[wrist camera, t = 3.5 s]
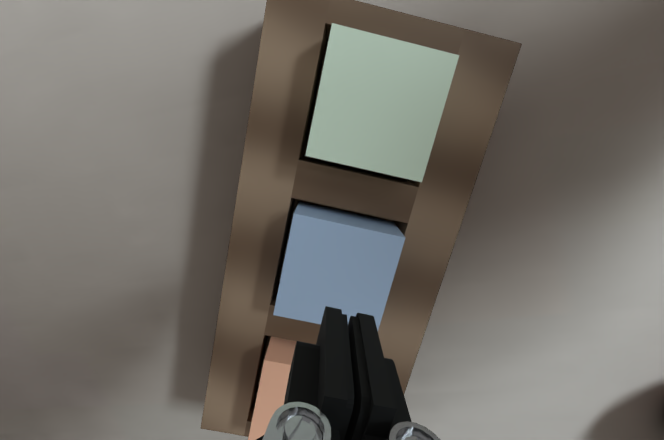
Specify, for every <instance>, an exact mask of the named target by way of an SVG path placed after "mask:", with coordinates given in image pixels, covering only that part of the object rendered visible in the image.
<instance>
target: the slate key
mask: <svg viewBox="0 0 664 440" xmlns="http://www.w3.org/2000/svg"><path fill="white" fill-rule="evenodd" d="M404 241H405V236H404V235H403V234H402V232H401V231H400V230H399V228H398V227H397V226H396V224H395V223H394V222H391V221H387V220H382V219H377V218H373V217H368V216H364V215H359V214H355V213H350V212H346V211H341V210H337V209H332V208H327V207H323V206H318V205H314V204H309V203H305V202H300V201H299V203H298V205H297V208H296V210H295V212H294V214H293V219H292V224H291V229H290V234H289V239H288V244H287V249H286V254H285V259H284V264H283V269H282V274H281V279H280V284H279V289H278V293H277V298H276V303H275V308H274V313H273V315H276V316H281V317H286V318H291V319H296V320H301V321H306V322H311V323H316V324H321V322H322V318H323V314H324V310H325V307H326V306H327V307H332V308H337V309H341V310H342V314H346V315H347V322H348V323H349V319H350V317H351V316H356V314H357V313H362V314H367V315H372V316H374V319H375V323H376V327H377V331H378V329H379V326H380V322H381V319H382V316H383V312H384V309H385V305H386V302H387V299H388V295H389V292H390V289H391V285H392V282H393V278H394V275H395V272H396V268H397V265H398V261H399V258H400V255H401V251H402V248H403V245H404Z"/></svg>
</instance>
